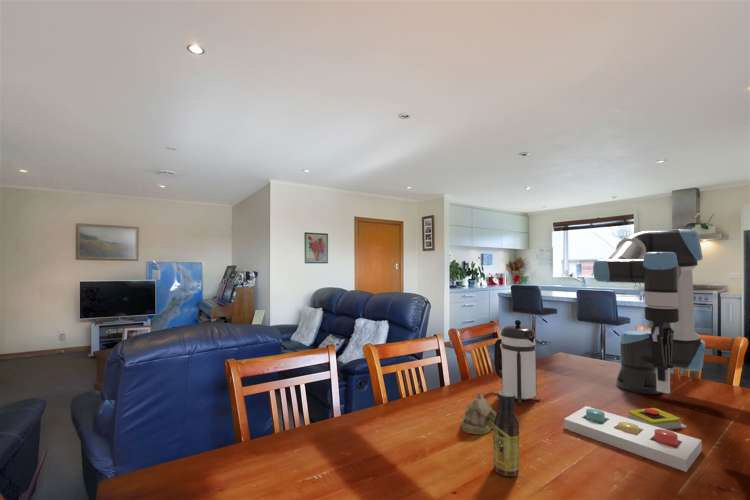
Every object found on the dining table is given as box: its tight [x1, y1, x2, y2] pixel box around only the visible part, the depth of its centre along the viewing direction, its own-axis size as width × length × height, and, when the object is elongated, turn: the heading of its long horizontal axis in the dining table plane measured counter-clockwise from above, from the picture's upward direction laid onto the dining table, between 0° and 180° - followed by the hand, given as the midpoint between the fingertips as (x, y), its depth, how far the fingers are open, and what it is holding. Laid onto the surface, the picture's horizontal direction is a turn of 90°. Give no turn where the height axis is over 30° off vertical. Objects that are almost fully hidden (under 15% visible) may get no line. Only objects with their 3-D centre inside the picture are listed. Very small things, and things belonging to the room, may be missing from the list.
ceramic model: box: [460, 393, 497, 435], centre depth 118 cm, size 14×11×10 cm
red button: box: [654, 429, 678, 448], centre depth 101 cm, size 5×5×4 cm
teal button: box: [586, 408, 605, 424], centre depth 115 cm, size 5×5×4 cm
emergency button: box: [627, 407, 687, 430], centre depth 119 cm, size 9×4×15 cm
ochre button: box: [618, 422, 639, 436], centre depth 108 cm, size 5×5×4 cm
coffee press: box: [493, 319, 541, 406], centre depth 142 cm, size 17×16×30 cm
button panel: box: [563, 405, 703, 473], centre depth 108 cm, size 16×30×3 cm, turn 38°
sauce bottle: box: [492, 390, 520, 478], centre depth 93 cm, size 7×6×20 cm
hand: (663, 391), depth 102 cm, fingers closed
